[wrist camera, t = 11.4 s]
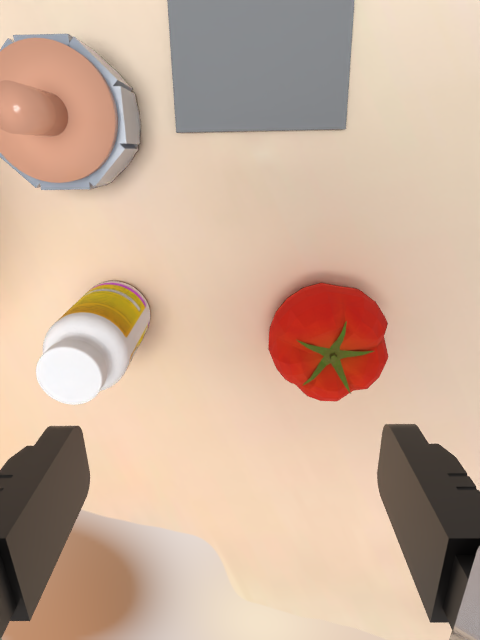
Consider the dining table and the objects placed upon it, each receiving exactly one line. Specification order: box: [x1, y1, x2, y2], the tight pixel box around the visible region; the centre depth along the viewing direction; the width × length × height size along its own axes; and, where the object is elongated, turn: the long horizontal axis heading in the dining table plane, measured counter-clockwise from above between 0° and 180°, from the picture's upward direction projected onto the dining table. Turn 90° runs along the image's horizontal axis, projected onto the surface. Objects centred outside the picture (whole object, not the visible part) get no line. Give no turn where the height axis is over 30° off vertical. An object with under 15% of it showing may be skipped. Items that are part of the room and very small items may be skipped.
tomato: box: [269, 283, 388, 401], centre depth 39 cm, size 11×11×8 cm
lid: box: [0, 38, 118, 183], centre depth 28 cm, size 9×9×6 cm
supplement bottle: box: [36, 281, 150, 404], centre depth 36 cm, size 7×7×13 cm
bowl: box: [0, 34, 141, 190], centre depth 33 cm, size 10×10×6 cm
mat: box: [167, 0, 354, 133], centre depth 33 cm, size 14×14×1 cm
